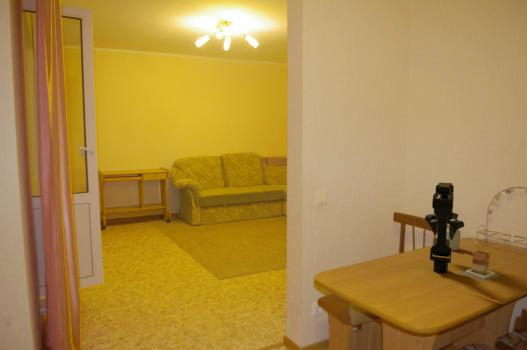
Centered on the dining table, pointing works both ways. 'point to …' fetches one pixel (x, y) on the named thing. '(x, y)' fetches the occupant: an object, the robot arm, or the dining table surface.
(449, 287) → the dining table surface
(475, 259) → the top block
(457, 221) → the robot arm
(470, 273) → the board
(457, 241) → the can
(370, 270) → the dining table surface
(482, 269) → the base block
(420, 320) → the dining table surface
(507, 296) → the dining table surface
